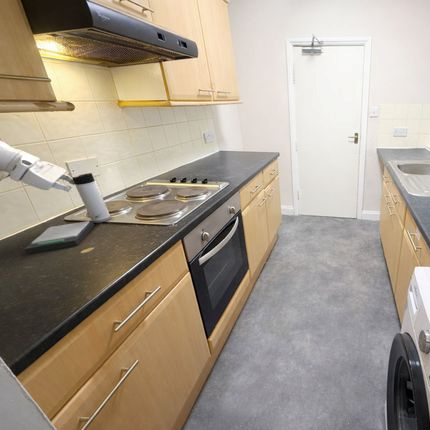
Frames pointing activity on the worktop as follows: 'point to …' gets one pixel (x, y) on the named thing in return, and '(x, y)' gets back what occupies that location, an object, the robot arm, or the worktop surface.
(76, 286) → the worktop surface
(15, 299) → the worktop surface
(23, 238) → the worktop surface
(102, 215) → the travel mug
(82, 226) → the kitchen scale
